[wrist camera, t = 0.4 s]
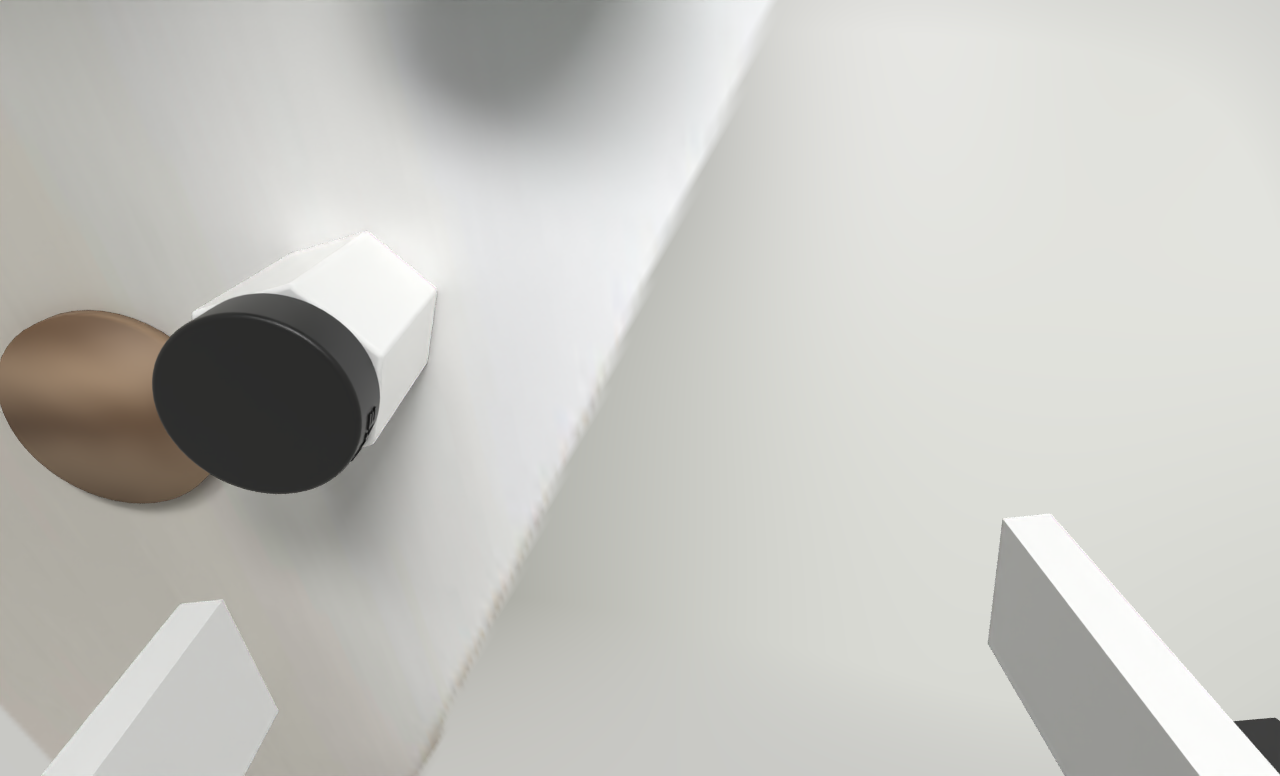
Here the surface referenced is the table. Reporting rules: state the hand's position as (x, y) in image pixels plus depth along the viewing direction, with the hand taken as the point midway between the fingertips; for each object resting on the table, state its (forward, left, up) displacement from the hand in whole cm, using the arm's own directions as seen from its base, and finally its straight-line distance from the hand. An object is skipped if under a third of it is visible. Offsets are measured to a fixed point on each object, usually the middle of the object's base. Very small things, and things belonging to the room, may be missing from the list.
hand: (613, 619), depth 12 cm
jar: (0, -15, -28) cm, 32 cm away
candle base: (+2, -31, -28) cm, 42 cm away
